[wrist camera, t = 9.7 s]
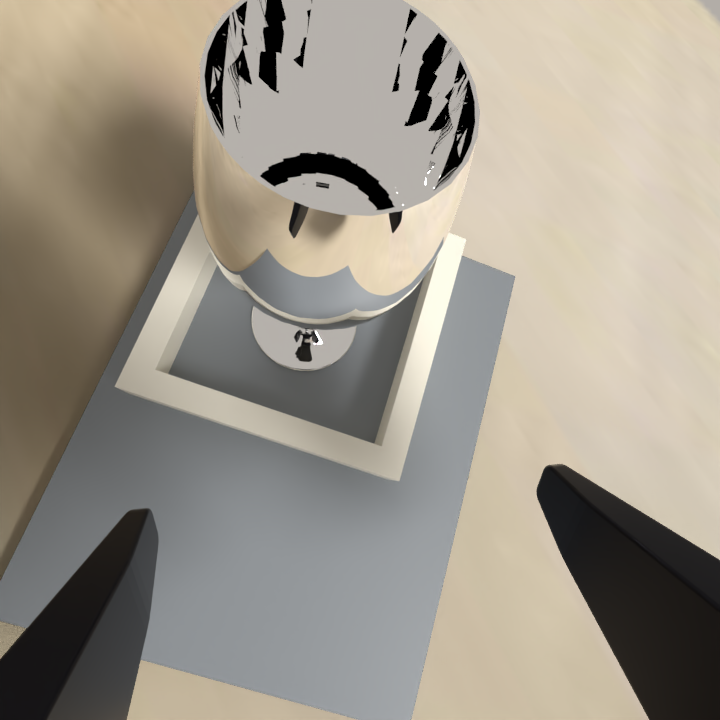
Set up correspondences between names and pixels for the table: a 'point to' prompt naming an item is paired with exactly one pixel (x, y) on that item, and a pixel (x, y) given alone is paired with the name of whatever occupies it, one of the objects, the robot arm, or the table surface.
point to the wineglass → (328, 163)
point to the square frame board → (279, 482)
